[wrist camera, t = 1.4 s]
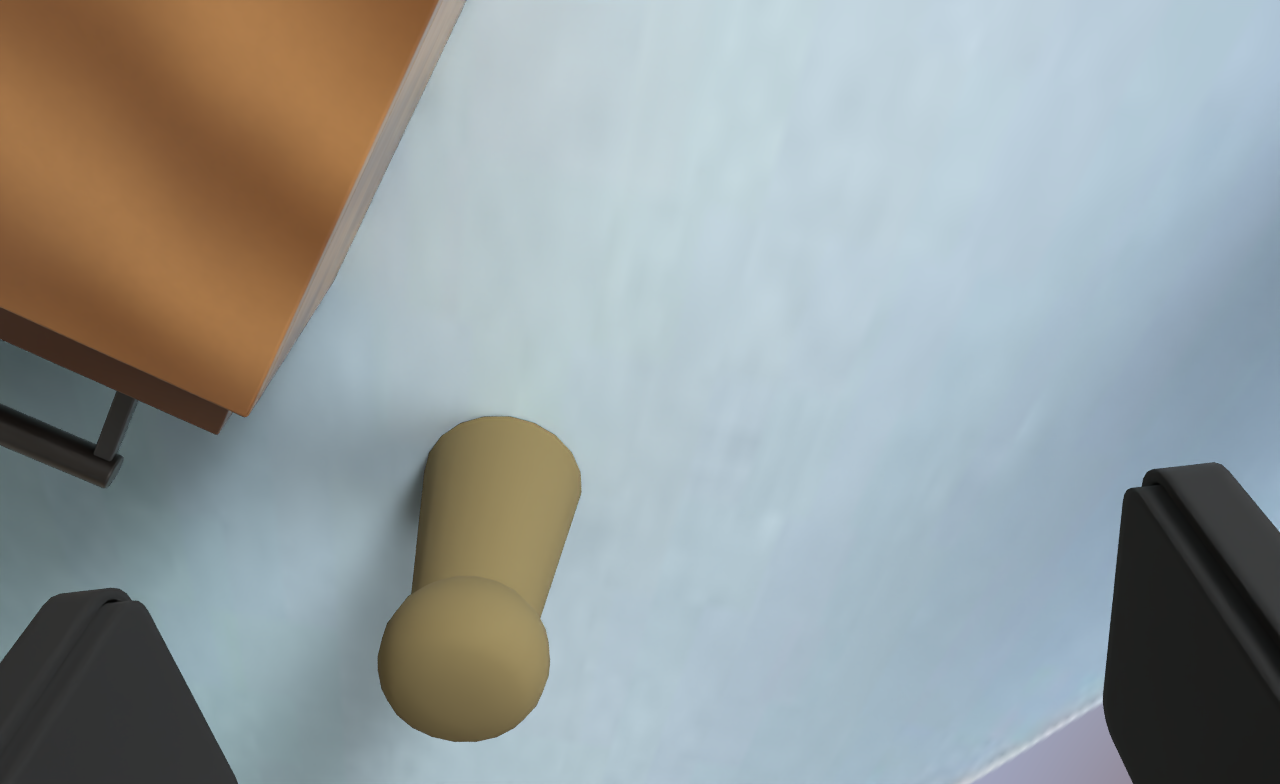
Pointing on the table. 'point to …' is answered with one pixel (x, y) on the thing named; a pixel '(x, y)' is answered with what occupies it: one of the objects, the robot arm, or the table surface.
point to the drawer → (130, 386)
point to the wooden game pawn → (481, 580)
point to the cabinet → (197, 169)
